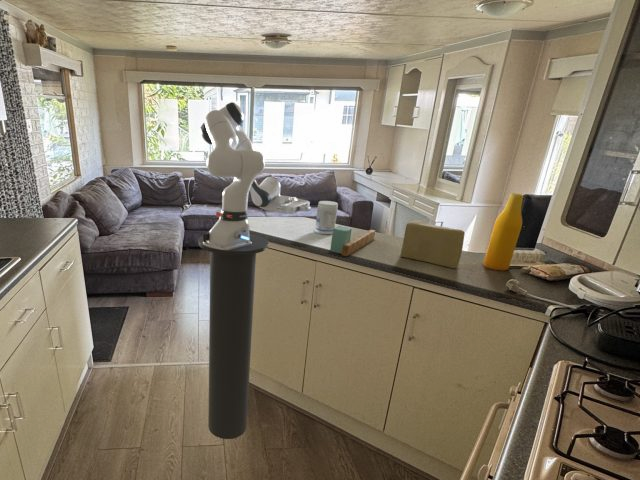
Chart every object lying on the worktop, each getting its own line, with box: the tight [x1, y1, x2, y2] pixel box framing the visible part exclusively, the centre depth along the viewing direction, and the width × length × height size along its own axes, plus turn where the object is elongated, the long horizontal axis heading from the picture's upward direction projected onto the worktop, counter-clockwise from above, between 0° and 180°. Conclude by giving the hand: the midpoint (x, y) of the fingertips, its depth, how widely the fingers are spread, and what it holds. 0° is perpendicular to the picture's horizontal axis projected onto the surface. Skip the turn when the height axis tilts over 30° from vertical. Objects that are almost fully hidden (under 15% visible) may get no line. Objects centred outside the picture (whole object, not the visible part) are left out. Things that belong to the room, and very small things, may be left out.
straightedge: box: [341, 229, 376, 257], centre depth 191 cm, size 34×2×4 cm, turn 145°
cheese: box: [400, 219, 466, 269], centre depth 174 cm, size 22×10×15 cm, turn 44°
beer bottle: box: [483, 193, 524, 272], centre depth 167 cm, size 9×9×29 cm
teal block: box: [329, 225, 353, 255], centre depth 183 cm, size 6×6×10 cm
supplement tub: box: [314, 200, 339, 235], centre depth 210 cm, size 10×10×15 cm
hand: (309, 209), depth 214 cm, fingers closed
